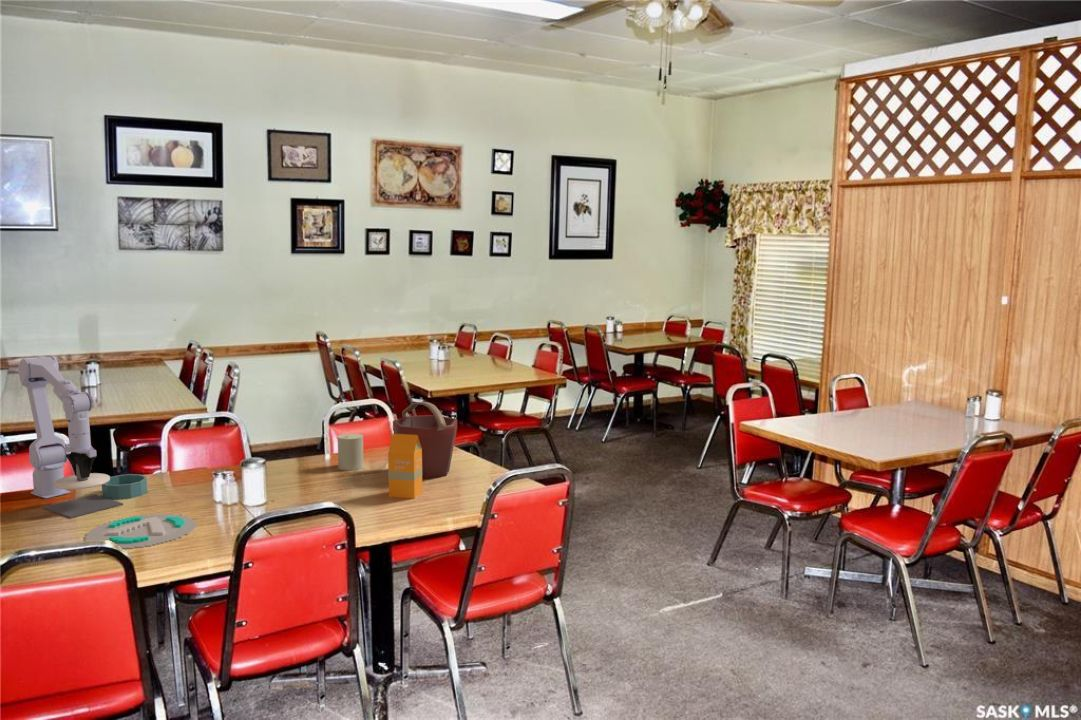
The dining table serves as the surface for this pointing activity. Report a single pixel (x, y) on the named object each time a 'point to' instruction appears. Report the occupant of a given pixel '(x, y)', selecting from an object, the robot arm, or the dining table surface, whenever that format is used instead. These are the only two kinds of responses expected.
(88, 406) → the robot arm
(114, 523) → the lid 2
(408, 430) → the bucket
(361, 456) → the can
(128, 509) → the dining table surface
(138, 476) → the bowl
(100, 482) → the lid
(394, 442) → the orange juice
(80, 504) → the mat
